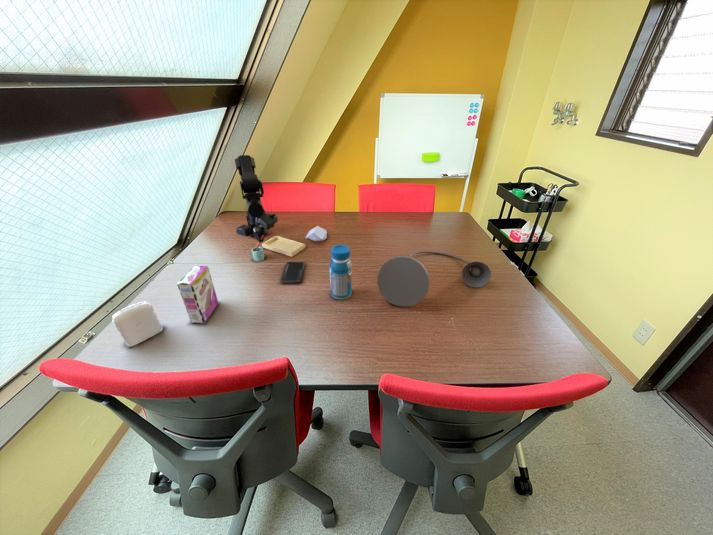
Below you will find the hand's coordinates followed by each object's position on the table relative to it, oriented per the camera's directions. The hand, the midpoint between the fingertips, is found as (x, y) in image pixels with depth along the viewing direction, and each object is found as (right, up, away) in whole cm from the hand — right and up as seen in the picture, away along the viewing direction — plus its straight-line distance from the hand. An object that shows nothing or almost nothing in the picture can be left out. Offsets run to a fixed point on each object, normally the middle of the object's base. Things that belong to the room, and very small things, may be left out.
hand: (261, 242), depth 127 cm
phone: (+15, -14, -4) cm, 21 cm away
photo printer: (-25, -34, -35) cm, 55 cm away
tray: (+6, -1, +16) cm, 17 cm away
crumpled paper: (+22, +4, +24) cm, 33 cm away
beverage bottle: (+36, -22, -15) cm, 45 cm away
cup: (-3, -7, +7) cm, 10 cm away
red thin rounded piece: (-1, 0, +1) cm, 2 cm away
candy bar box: (-11, -28, -25) cm, 39 cm away
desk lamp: (+76, -17, -6) cm, 78 cm away
